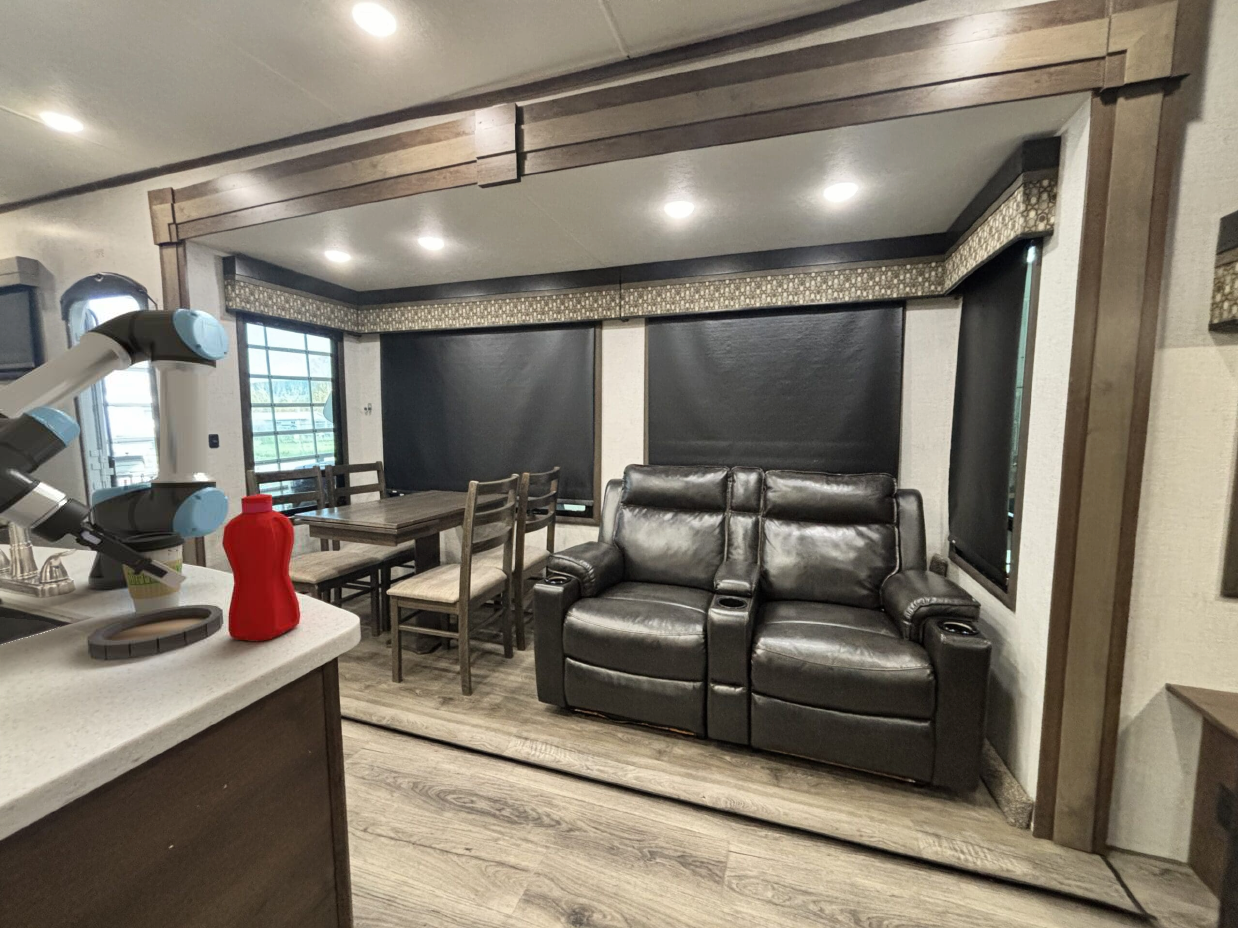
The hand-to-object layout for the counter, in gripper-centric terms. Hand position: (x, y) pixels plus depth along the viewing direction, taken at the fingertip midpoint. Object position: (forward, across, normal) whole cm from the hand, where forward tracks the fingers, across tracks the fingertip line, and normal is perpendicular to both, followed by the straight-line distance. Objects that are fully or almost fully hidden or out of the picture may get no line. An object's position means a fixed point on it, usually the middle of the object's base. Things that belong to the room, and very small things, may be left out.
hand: (175, 577), depth 99 cm
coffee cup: (+2, 0, -6) cm, 7 cm away
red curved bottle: (+10, +28, +1) cm, 30 cm away
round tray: (+1, +16, -8) cm, 18 cm away
